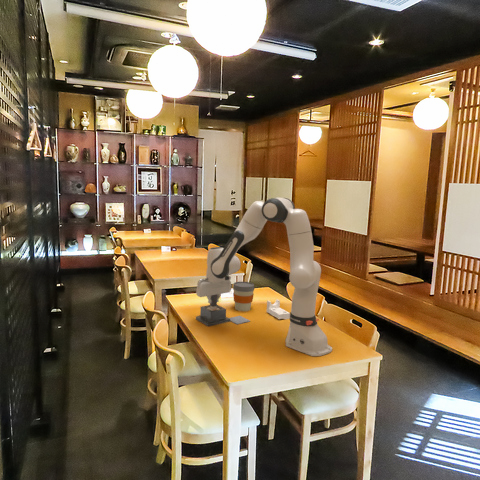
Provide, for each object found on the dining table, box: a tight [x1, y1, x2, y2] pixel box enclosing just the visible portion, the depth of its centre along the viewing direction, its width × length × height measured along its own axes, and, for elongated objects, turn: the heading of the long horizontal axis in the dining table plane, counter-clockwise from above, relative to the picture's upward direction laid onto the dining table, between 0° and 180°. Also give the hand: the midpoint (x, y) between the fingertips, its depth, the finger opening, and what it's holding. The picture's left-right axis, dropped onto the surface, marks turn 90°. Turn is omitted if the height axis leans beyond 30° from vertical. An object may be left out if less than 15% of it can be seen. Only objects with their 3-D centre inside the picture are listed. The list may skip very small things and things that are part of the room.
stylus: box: [209, 295, 218, 310], centre depth 204 cm, size 3×3×8 cm
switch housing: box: [195, 304, 231, 328], centre depth 205 cm, size 12×14×7 cm
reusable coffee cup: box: [232, 281, 255, 312], centre depth 226 cm, size 12×13×15 cm
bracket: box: [266, 299, 290, 320], centre depth 218 cm, size 13×7×8 cm, turn 28°
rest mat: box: [228, 315, 251, 326], centre depth 208 cm, size 9×9×1 cm
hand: (213, 302), depth 204 cm, fingers closed on stylus, 3 cm apart
